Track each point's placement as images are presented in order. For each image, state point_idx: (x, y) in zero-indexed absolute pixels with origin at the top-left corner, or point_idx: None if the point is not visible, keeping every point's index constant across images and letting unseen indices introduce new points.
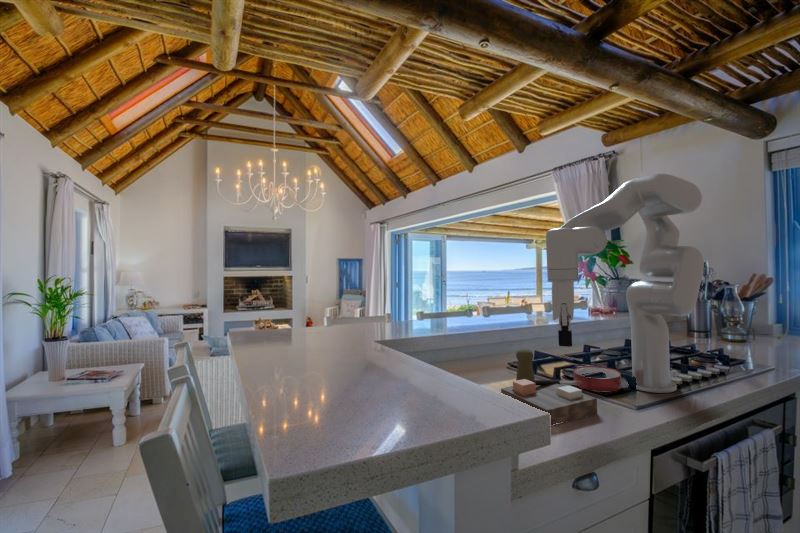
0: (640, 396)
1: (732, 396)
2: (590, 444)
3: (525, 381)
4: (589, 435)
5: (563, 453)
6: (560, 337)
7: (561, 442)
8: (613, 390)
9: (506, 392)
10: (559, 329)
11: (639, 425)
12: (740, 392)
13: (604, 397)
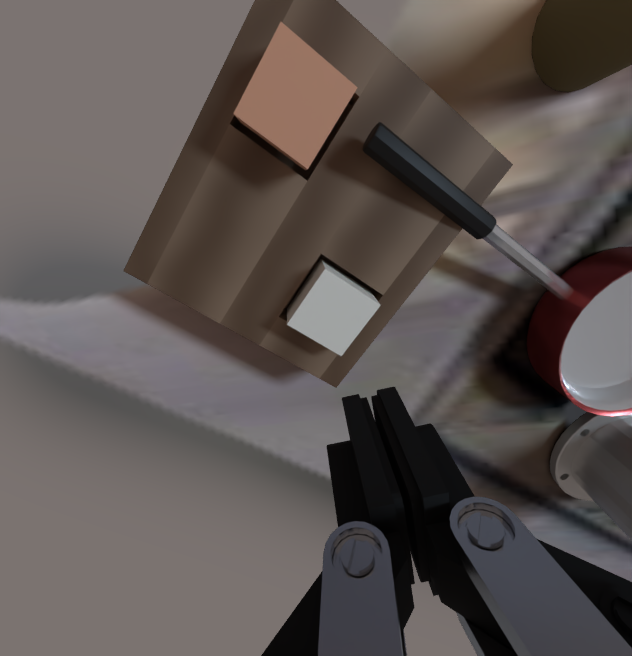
0: (515, 433)
1: None
2: (111, 378)
3: (311, 105)
4: (165, 367)
5: (7, 334)
6: (356, 461)
7: (68, 316)
8: (540, 376)
9: (253, 7)
10: (324, 559)
11: (298, 449)
12: None
13: (481, 358)
